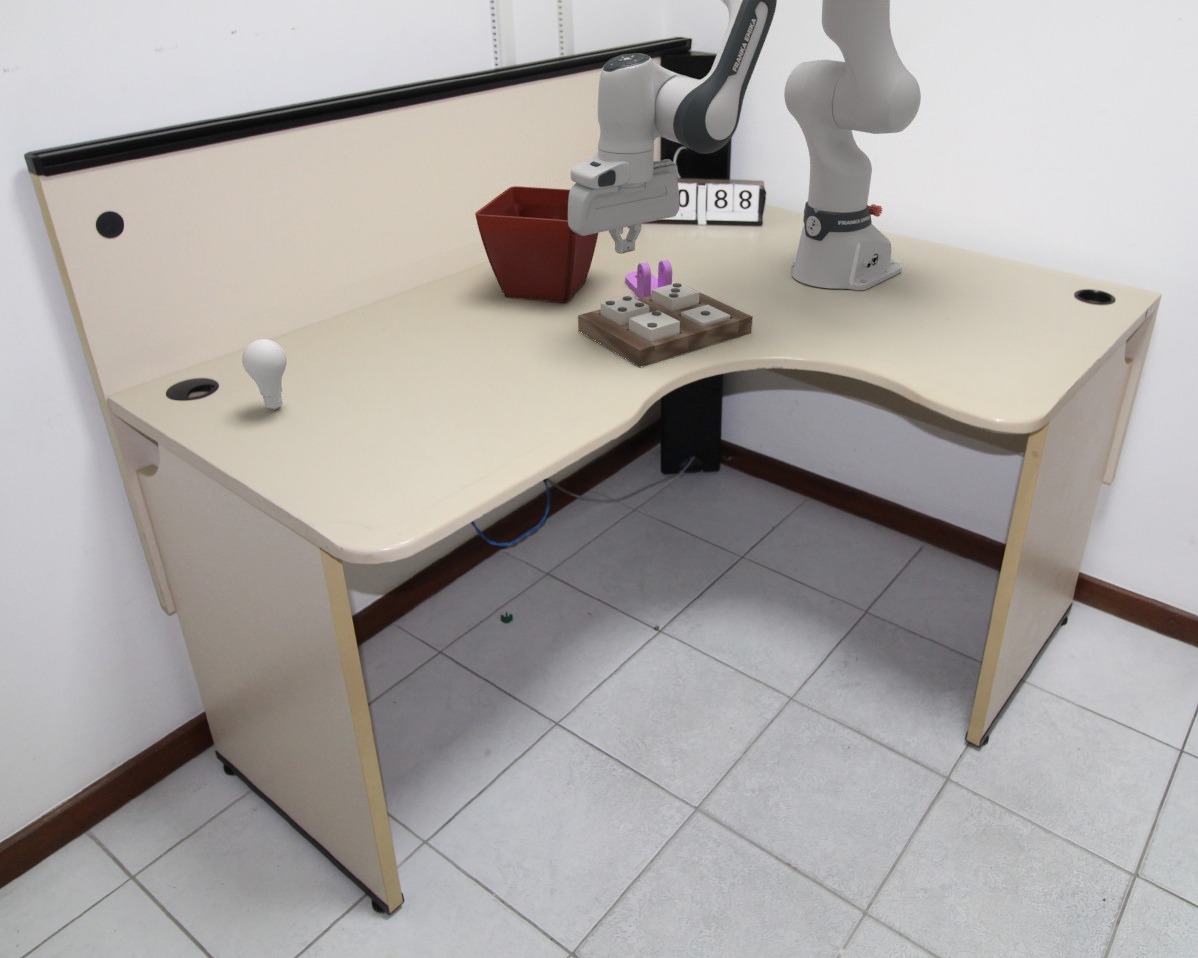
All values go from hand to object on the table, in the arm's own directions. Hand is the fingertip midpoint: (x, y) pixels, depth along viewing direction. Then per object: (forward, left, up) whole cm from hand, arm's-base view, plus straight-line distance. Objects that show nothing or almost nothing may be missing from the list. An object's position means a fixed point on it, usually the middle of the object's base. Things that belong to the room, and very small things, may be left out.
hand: (624, 251), depth 159 cm
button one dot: (-11, +8, -14) cm, 20 cm away
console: (-6, +4, -14) cm, 16 cm away
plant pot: (0, -26, -15) cm, 30 cm away
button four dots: (0, 0, -12) cm, 13 cm away
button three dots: (-11, 0, -13) cm, 17 cm away
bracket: (-16, -15, -15) cm, 26 cm away
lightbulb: (+59, -7, -15) cm, 62 cm away
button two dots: (0, +8, -12) cm, 15 cm away
